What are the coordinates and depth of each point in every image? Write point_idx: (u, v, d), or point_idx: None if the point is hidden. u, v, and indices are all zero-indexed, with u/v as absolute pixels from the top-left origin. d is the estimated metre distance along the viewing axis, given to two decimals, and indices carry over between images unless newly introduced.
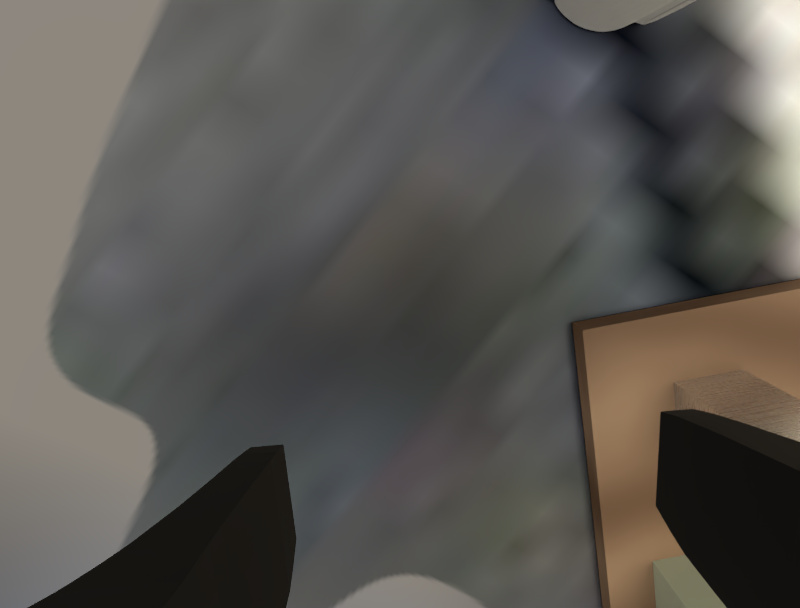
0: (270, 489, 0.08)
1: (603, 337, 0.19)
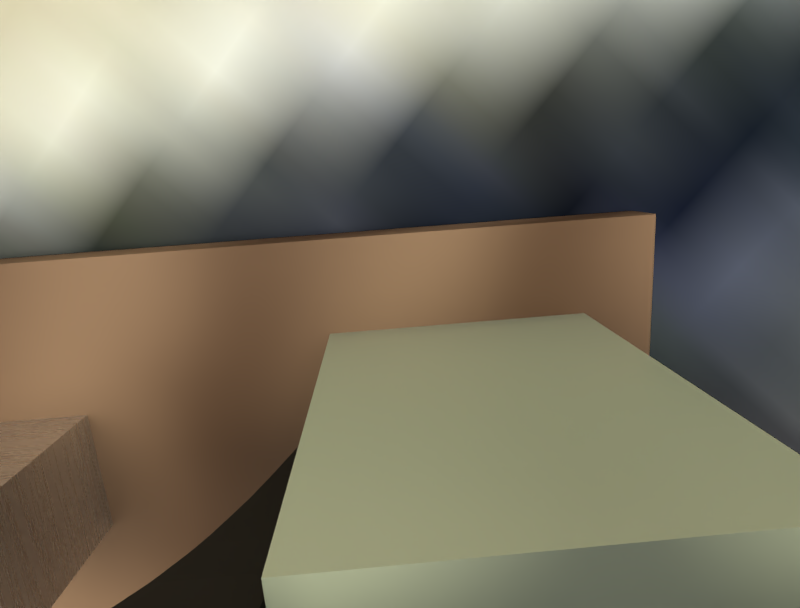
0: None
1: None
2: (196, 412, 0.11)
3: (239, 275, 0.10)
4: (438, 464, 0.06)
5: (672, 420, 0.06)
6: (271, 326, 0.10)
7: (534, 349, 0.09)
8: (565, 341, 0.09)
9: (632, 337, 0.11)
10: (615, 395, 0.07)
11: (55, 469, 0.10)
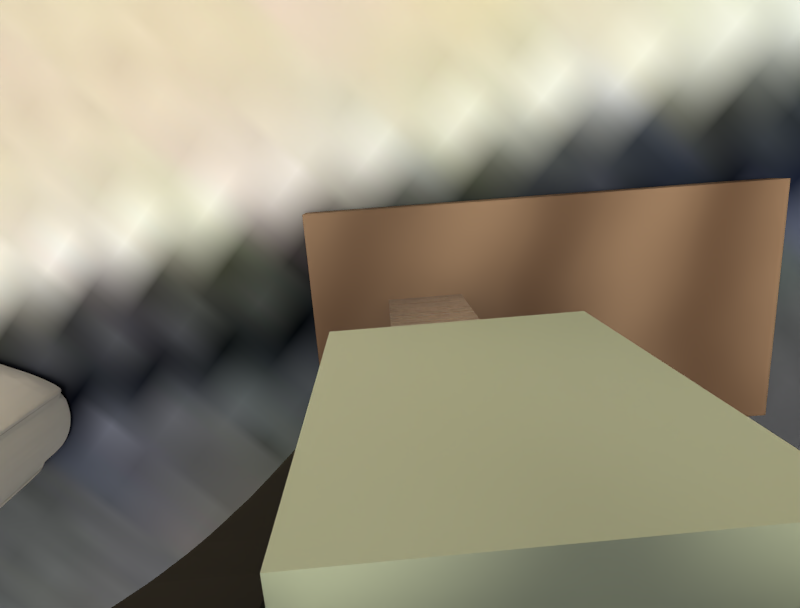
0: None
1: None
2: (522, 293, 0.19)
3: (557, 212, 0.18)
4: (437, 460, 0.06)
5: (671, 416, 0.06)
6: (570, 242, 0.18)
7: (534, 346, 0.09)
8: (565, 339, 0.09)
9: (772, 250, 0.19)
10: (615, 392, 0.07)
11: None
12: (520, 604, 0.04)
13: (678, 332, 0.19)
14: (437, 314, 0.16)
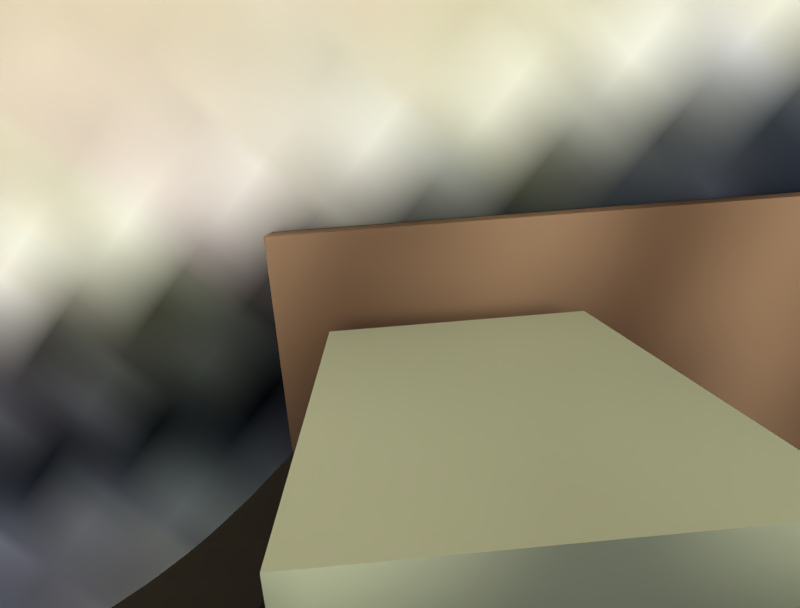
0: None
1: None
2: None
3: (655, 232, 0.12)
4: (437, 460, 0.06)
5: (671, 416, 0.06)
6: (673, 277, 0.12)
7: (534, 346, 0.09)
8: (565, 338, 0.09)
9: None
10: (615, 392, 0.07)
11: None
12: (520, 604, 0.04)
13: None
14: None
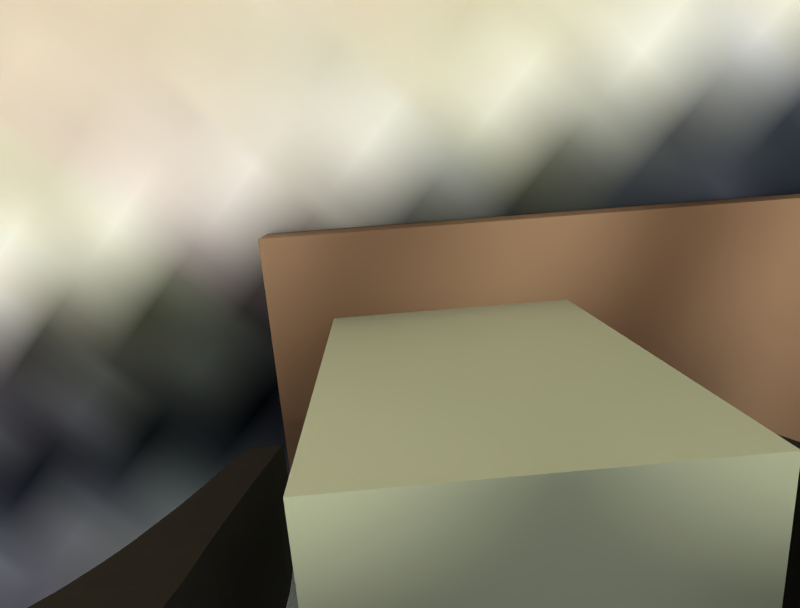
0: (270, 489, 0.08)
1: None
2: None
3: (665, 234, 0.11)
4: (429, 418, 0.07)
5: (632, 383, 0.07)
6: (684, 281, 0.12)
7: (519, 329, 0.10)
8: (547, 323, 0.10)
9: None
10: (586, 365, 0.08)
11: None
12: (495, 525, 0.05)
13: None
14: None
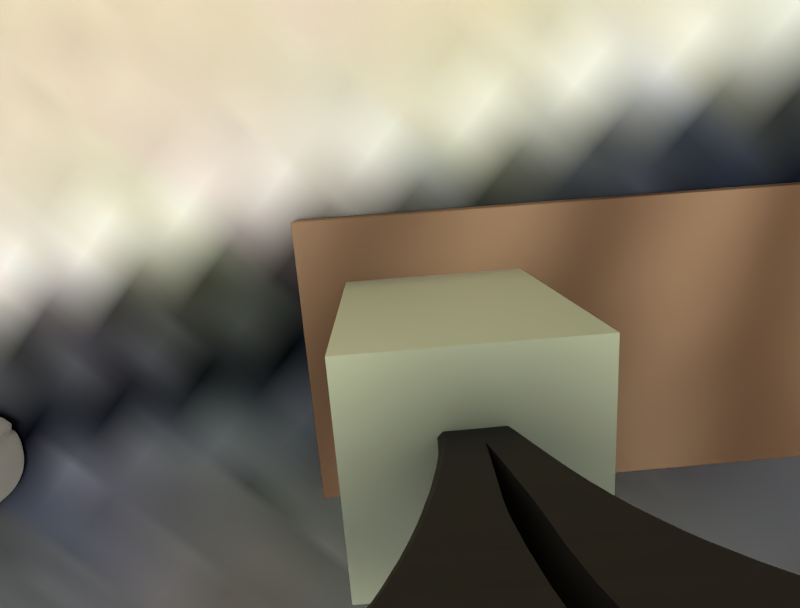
0: None
1: (334, 477, 0.17)
2: None
3: (592, 219, 0.15)
4: (410, 326, 0.11)
5: (541, 309, 0.11)
6: (607, 254, 0.16)
7: (478, 285, 0.14)
8: (500, 281, 0.14)
9: None
10: (516, 301, 0.12)
11: None
12: (444, 374, 0.09)
13: (731, 359, 0.17)
14: None
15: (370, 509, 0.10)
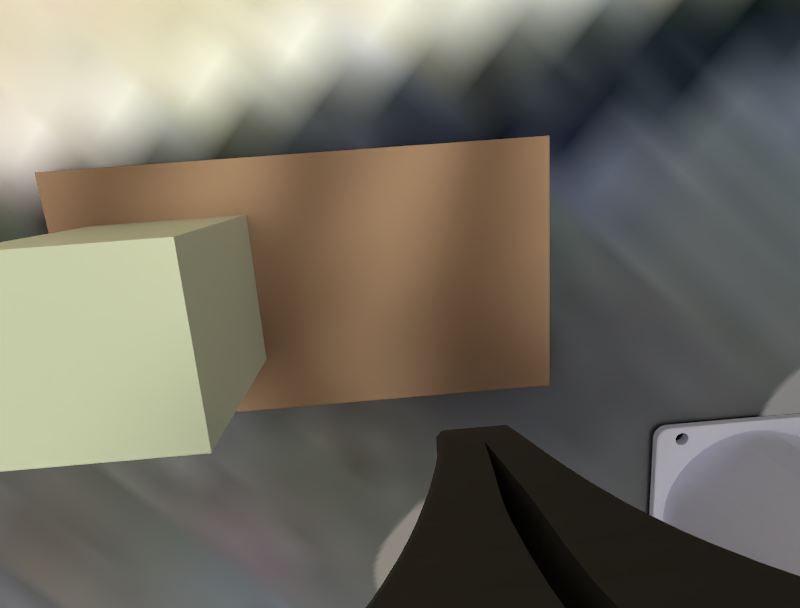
0: None
1: None
2: (278, 256, 0.18)
3: (306, 170, 0.17)
4: (43, 241, 0.13)
5: (169, 230, 0.13)
6: (323, 202, 0.18)
7: (178, 223, 0.16)
8: (201, 220, 0.16)
9: (538, 212, 0.18)
10: (168, 228, 0.14)
11: None
12: (31, 271, 0.11)
13: (448, 298, 0.19)
14: None
15: None
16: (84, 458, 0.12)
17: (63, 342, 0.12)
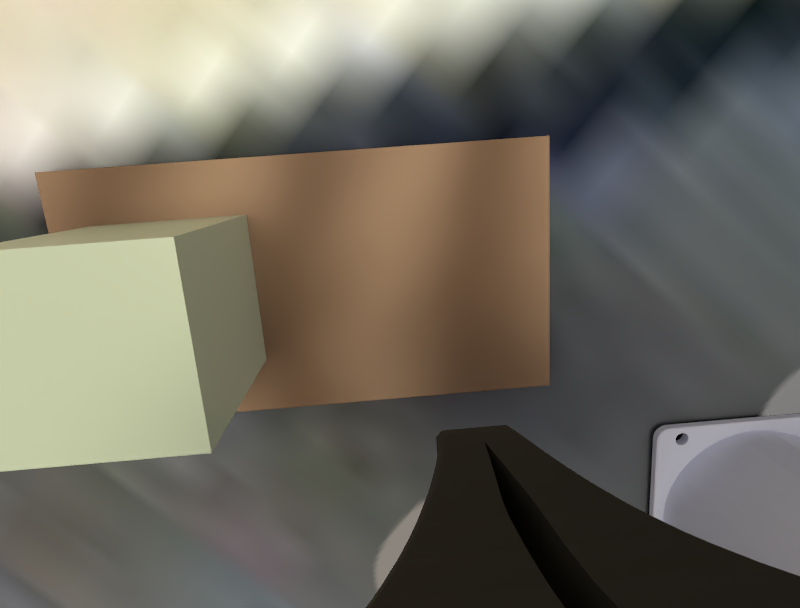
0: None
1: None
2: (278, 256, 0.18)
3: (306, 171, 0.17)
4: (43, 241, 0.13)
5: (169, 230, 0.13)
6: (323, 202, 0.18)
7: (178, 223, 0.16)
8: (201, 220, 0.16)
9: (538, 212, 0.18)
10: (168, 228, 0.14)
11: None
12: (31, 271, 0.11)
13: (448, 298, 0.19)
14: None
15: None
16: (84, 458, 0.12)
17: (63, 342, 0.12)
